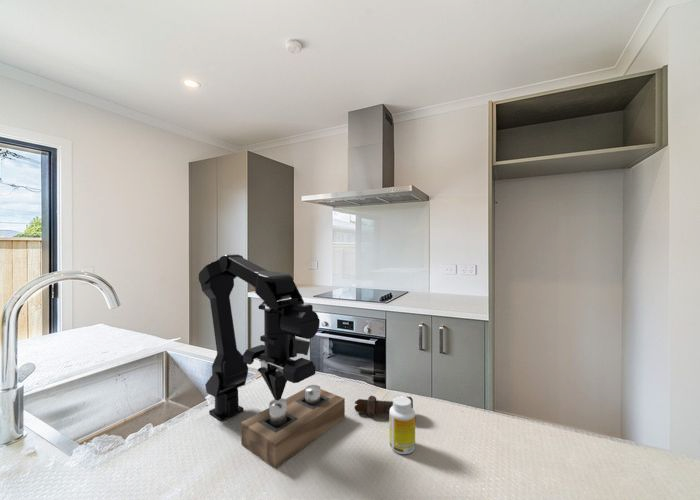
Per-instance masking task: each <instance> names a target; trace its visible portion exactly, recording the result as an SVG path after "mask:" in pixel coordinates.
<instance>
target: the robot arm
mask: <svg viewBox="0 0 700 500" xmlns="http://www.w3.org/2000/svg"><path fill="white" fill-rule="evenodd" d="M236 278H239V279H241V280H243V281H244V282H246V283H247V284H249V285H251V286H252V287H253V288H254V293H255V294H256V295H257V296H258V297H259V298H260V299H261V300H262V302H261V304H259V305H258V306H257V307H258V309H259V310H262V311H263V313H264V319H263V320H264V321H263V325H264V331H263V333H264V334H263V335H260V337H259V338H260V339H259V341H260V342H263V343H264V344H260V345H256V346H254V347H251V348H246V350H244V353H243V354H242V353H241V352H240V351H239V349H238V346H237V342H236V340H237V339H236V333H235V326H234V325H235V324H234V319H233V313H232V305H231V299H230V298H231V297H230V295H231V293H232V291H233V289H234V287H235V279H236ZM198 281H199V284H200V287H201V291H202V293H204V295H205V296H206V297H207V299H209V304H210V309H211V311H210V312H211V317H212V325H213V333H214V339H215V348H216V356H215V358H214V360H213V363H212V365H211V376H210V378H209V379H207V382H205V390H206V394H208V395H211V396H212V397H213V398H214V408H211V409H210V410H209V411H208V413H209V414H210V415H211V416H213V417H214V418H216V419H217V420H219V421H221V422H222V421H223V422H224V421H225V420H226V419H229V418H230V417H233V416H235V415H237V414H239V413H240V412H243V411H244V407H243V406H241V405H239V404H240V403H239V388H241V387H243V386H245V385H246V383H247V378H248V376H249V375H248V374H249V367H248V365H252V364H253V363H254V362H255V359H257V360H259V362H260V367H259V368H258V369H257V372H258V373H259V374H261V377H262V378H263V380H264V382H265V384H266V386H267V387H268V389H269V391H270V393H271V394H272V397H273V400H274V399H275V400H277V401H278V400H280V399H281V398H282V396H283V394H284V392H285V391H284V390H285V387H286V385H287V382H290V383H292V384H298V383H300V382H302V381H304V380H306V379H308V378H310V377H312V376H314V375H316V363H315V362H314V361H313V360H310V359H307V358H304V357H300V358H297V359H292V358H296V357H298V355H304V356H308V354H309V351H310V346H311V341H308V340H310V339H312V338H314V337H315V336H316V335H317V333H318V331H319V328H320V323H321V320H320V318H319V315H318V313H317V312H316V311H314V309H313V307H314V306H313V304H309V303H308V304H305V301H304V299H303V296H302V294H301V293H300V291H299V289H298V287H297V285H296V283H295V281H294V277H293V276H292V275H291V274H289V273H284V272H279V271H270V270H267V269H265V268H263V267H262V266H259V265H258V264H256V263H254V262H251V261H250V260H248V259H246V258H244V257H243V255H240V254H224V255H221V256H220V257H219V258H218V259H217V260H214V261H212V262H210V263H208V264H206V265H205V266H204V267H203V268H202V269H201V270H200V271H199V273H198ZM297 337H298V338H297ZM304 339H306V340H304Z"/></svg>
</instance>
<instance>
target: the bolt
mask: <svg viewBox="0 0 700 500" xmlns="http://www.w3.org/2000/svg"><path fill="white" fill-rule="evenodd" d="M406 397H407V398H409V399H410V400H411V406H412V408H413V409H414V400H413V398H412V396H406ZM354 404H355V405H354V411H355V412H358V413H367V416H368V417H370V418H376V416H377V414H378V415H389V411H390V408H391V407H392V406H393V400H379V399H377V397H376V396H375V395H370V396H368V398H367V399H366V398H365V399H363V398H358V399H357V400H355V401H354Z"/></svg>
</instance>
